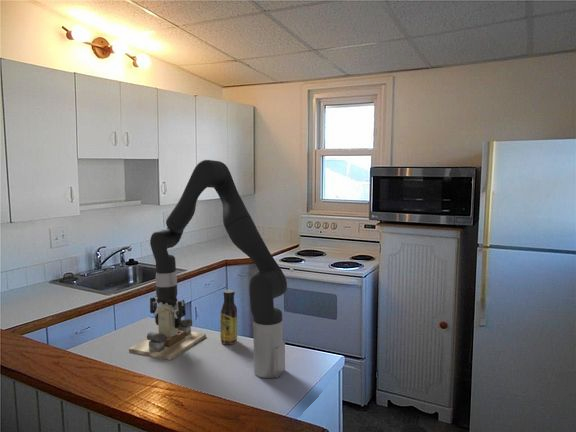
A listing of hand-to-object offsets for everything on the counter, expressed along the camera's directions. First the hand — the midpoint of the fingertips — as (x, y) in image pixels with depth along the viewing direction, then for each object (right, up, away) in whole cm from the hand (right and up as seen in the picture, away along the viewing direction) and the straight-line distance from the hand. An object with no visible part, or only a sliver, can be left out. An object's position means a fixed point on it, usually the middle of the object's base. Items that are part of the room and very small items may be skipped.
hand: (168, 326), depth 167 cm
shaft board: (0, -7, +1) cm, 7 cm away
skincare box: (0, -3, 0) cm, 3 cm away
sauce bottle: (+22, -7, +2) cm, 23 cm away
